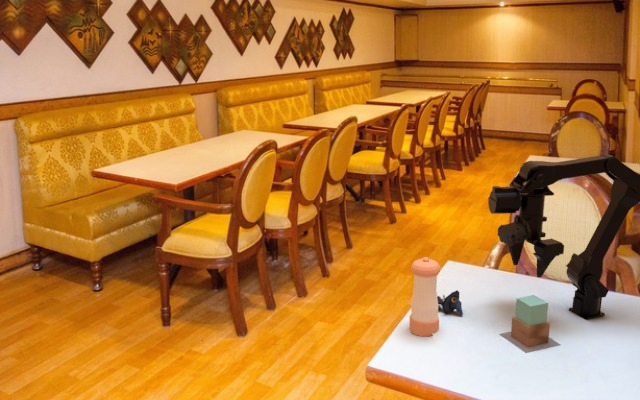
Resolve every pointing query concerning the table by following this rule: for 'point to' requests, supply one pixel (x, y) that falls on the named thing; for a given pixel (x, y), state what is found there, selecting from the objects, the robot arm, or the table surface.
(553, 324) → the table surface
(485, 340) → the table surface
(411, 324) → the pepper shaker
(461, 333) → the table surface
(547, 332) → the walnut block
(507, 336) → the mat
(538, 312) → the green cube
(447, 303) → the toy
